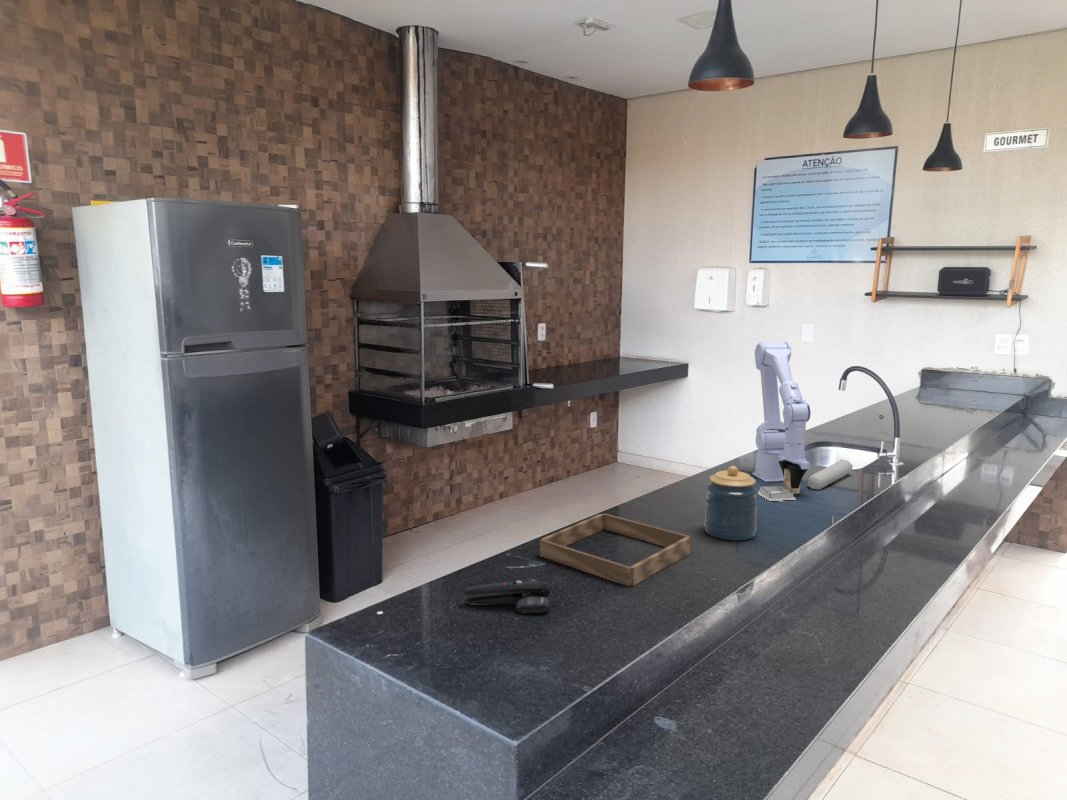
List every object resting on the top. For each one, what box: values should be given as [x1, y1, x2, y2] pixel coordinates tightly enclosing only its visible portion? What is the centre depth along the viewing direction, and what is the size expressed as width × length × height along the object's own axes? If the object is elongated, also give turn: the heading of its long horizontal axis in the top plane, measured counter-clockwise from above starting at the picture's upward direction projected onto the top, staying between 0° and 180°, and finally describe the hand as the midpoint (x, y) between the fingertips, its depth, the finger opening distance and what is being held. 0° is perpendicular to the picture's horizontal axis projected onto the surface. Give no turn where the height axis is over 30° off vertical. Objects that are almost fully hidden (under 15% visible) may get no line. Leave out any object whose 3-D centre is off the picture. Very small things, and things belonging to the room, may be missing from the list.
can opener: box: [463, 579, 552, 614], centre depth 147 cm, size 18×7×6 cm, turn 83°
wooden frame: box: [539, 513, 692, 587], centre depth 174 cm, size 26×26×4 cm
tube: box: [807, 458, 854, 491], centre depth 234 cm, size 5×5×25 cm
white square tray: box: [759, 485, 795, 499], centre depth 218 cm, size 8×8×2 cm
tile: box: [756, 490, 796, 502], centre depth 218 cm, size 8×8×1 cm
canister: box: [703, 465, 760, 542], centre depth 187 cm, size 13×13×18 cm
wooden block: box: [782, 469, 801, 495], centre depth 223 cm, size 4×4×7 cm
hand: (791, 486), depth 223 cm, fingers closed on wooden block, 3 cm apart
